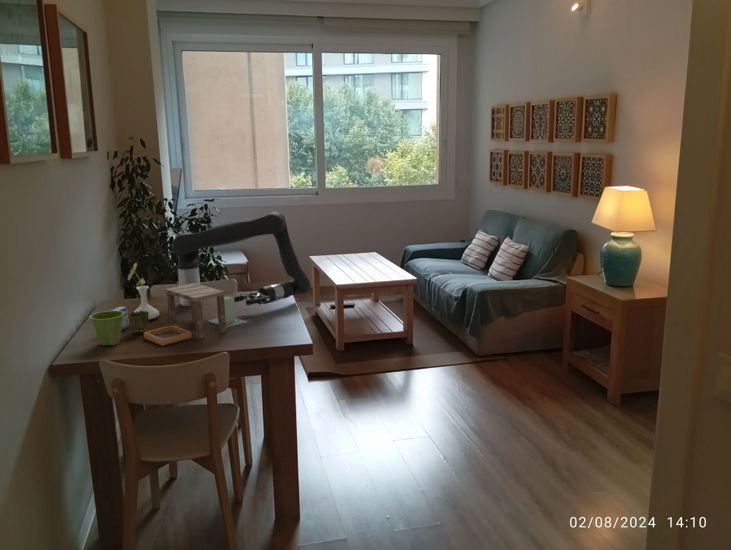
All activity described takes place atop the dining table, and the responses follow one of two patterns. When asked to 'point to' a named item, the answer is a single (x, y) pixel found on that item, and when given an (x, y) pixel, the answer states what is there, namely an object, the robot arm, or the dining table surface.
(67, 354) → the dining table surface
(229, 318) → the sage block
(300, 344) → the dining table surface
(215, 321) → the slate mat
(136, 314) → the cup
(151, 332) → the shallow orange tray
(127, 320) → the medicine box
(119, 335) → the plant pot
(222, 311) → the walnut table
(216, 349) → the dining table surface
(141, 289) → the flower in vase
